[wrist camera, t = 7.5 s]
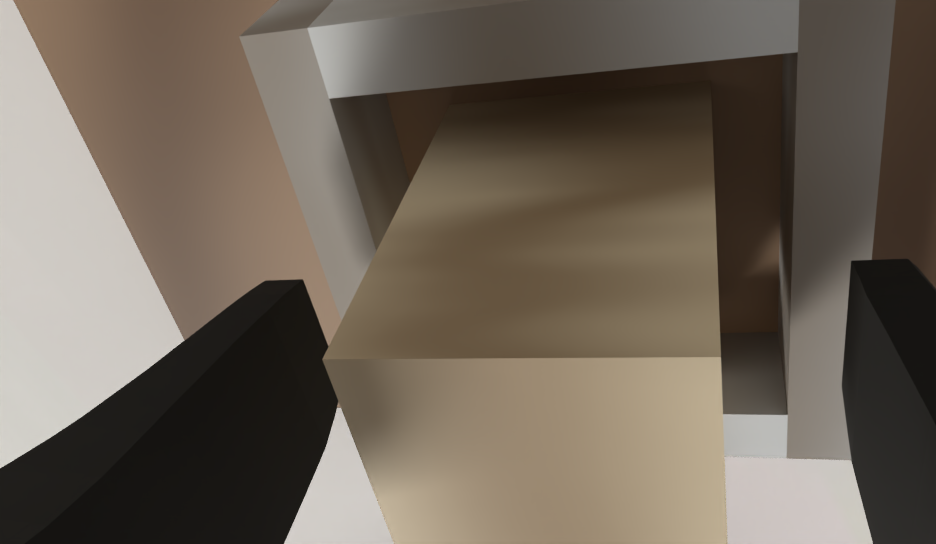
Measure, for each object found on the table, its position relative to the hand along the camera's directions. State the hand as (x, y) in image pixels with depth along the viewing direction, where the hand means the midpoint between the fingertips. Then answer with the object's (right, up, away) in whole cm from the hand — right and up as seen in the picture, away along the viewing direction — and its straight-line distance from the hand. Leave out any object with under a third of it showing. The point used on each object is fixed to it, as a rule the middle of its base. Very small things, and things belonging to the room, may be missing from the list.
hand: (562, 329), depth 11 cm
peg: (+1, +2, +3) cm, 3 cm away
